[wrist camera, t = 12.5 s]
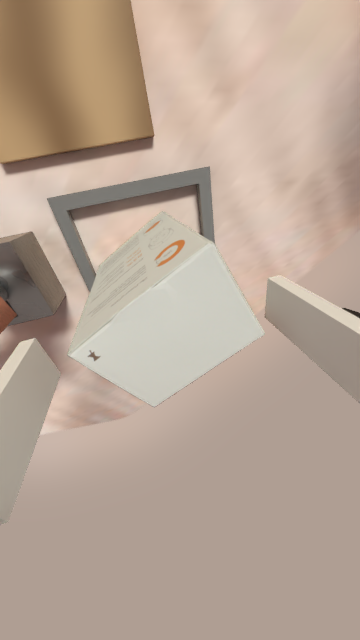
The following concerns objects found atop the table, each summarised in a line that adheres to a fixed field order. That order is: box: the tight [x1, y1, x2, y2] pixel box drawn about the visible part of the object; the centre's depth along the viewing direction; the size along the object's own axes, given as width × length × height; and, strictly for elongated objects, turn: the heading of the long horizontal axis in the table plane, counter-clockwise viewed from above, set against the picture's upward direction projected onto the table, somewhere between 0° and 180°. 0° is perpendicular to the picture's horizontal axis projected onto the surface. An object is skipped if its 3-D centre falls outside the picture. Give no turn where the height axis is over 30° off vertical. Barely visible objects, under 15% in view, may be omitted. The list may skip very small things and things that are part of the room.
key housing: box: [0, 232, 66, 326], centre depth 17 cm, size 6×6×4 cm
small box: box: [67, 211, 265, 407], centre depth 15 cm, size 8×6×13 cm
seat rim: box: [47, 166, 215, 291], centre depth 20 cm, size 13×14×1 cm
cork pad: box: [0, 0, 154, 164], centre depth 12 cm, size 11×11×1 cm
